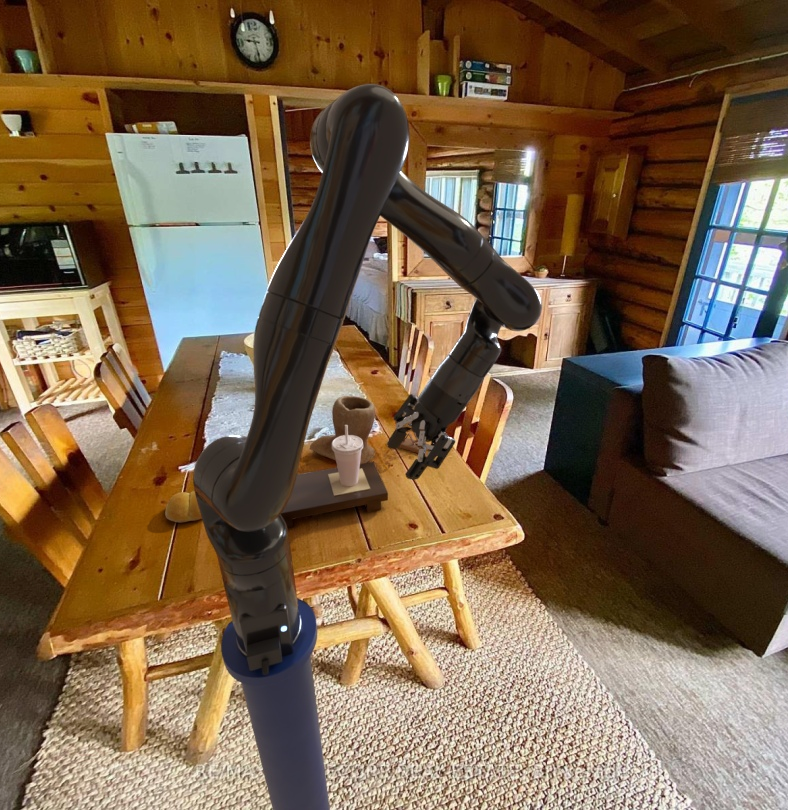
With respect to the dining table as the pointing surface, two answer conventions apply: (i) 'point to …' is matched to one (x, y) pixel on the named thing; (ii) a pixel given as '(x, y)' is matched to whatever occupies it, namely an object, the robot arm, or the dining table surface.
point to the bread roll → (183, 508)
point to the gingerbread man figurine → (409, 442)
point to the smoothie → (348, 457)
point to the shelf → (334, 493)
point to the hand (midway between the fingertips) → (400, 462)
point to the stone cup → (349, 426)
